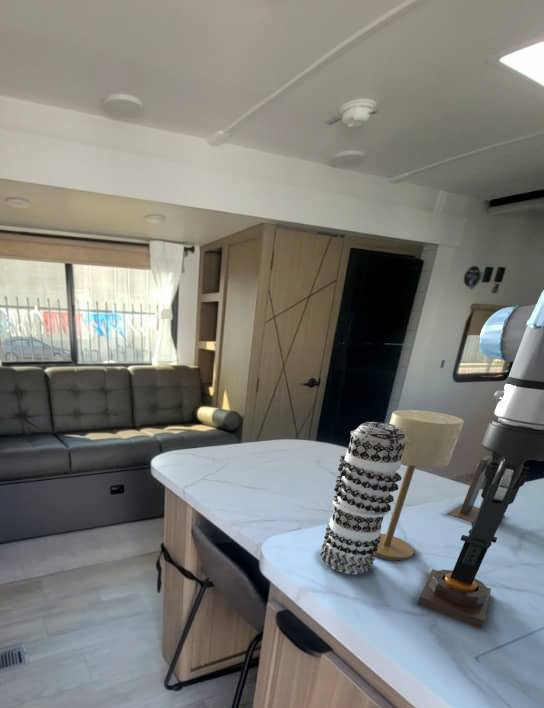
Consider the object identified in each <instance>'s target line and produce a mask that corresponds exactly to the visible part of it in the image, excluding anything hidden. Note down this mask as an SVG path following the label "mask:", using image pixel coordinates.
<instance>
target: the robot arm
mask: <svg viewBox="0 0 544 708" xmlns="http://www.w3.org/2000/svg"><path fill="white" fill-rule="evenodd" d="M479 349H480V352H481V353H482V354H483V355H484V356H485V357H487V358H489V359H494V360H498V361H499V360H500V361H503V362H505V363H512V366H511V368H510V372H509V373H508V375H507V378H506V380H505V384H504V387H503V389H504V390H497V391H495V393H494V395H493V397H494V398H495V399H497V400H498V399H500V400H499V401H498V402H497V404H496V407H495V410H494V412H493V414H494V415H495V416H496V417H497V418H494V419H492V420H490V422H489V424H488V426H487V428H486V431H485V434H484V436H483V439H482V442H481V447H482V448H483V449H484V450H486V451H488V452H490V453H493V454H498V455H501V456H502V458H501V461H499V462H494V461H492V463H491V465H490V468H489V470H488V473H487V475H486V476H485V479H486V481H485V484H484V486H483V487H482V488H483V489H482V491H481V494H480V496H481V498H482V501H481V504H480V506H479V507H478V508H479V511H478V513H477V515H476V518H475V520H474V521H473V522H471V524H470V525H471V529H469V531H468V535H465V534H462V535H461V537H460V539H459V540H460V541H462V542H464V543H463V545H462V547H461V550H460V552H459V555H458V557H457V559H456V562H455V564H454V566H453V569H452V574H451V576H450V578H452V579H455V580H458V581H461V582H464V583H467V584H470V585H472V583H473V581H474V579H476V576H477V575H478V572H479V570H480V567H481V565H482V563H483V561H484V559H485V556H486V554H487V552H488V550H489V549H490V547H491V546H492V544H493V543H494V544H496V543H497V542H498V537H497V536H495V535H496V533H497V531H498V529H499V527H500V525H501V522H502V520H503V518H504V517H503V516H505V513H506V511H507V509H508V508H509V505H511V504H513V503H514V501H515V499H516V497H517V494H518V493H519V490H520V488H521V487H523V486H524V485H525V483H526V481H527V478H528V476H529V473H530V472H529V471H530V468H529V467H525V463H526V461H536V462H544V289H543V290H542V292H541V293H540V296H539V298H538V301H537V303H535V304H532V305H525V304H518V305H516V306H507V307H503V308H501V309H499V310H496V312H494V313H493V314H492V315H491V316H490V317H489V318H488V319H487V320H486V322H485V323H484V325H482V328H481V331H480V334H479Z"/></svg>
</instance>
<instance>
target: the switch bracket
mask: <svg viewBox="0 0 544 708" xmlns="http://www.w3.org/2000/svg"><path fill="white" fill-rule="evenodd" d="M493 459H494V456H492V455H485V456H484V457H482V458H480V459H479V462H477V464H476V468H475V469H476V470H475V472H474V474H473V477H472V480H471V482H470V485H469V488H468V490H467V492H466V496H465V499H464V501H463V503H462V504H461V505H459V506H457V507H455V508H454V509H452V510H451V511H449V512H448V513H446V515H447V516H450V517H454V518H457V519H459V520H463V521H466V522H469V523H472V522H473V521H474V520H475V518H476V515H477V513H478V511H479V508H480V507H477V506H475V503H476V500H477V498H478V496H479V493H480V491H481V488H482V485H483V483H484V481H485V479H486V476H487V475H485V471H486V468H487V465H488V464H489V463H490V462H491V461H492V460H493ZM505 517H506V516H505V515H504V516H503V518H505Z"/></svg>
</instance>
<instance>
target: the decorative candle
mask: <svg viewBox="0 0 544 708" xmlns="http://www.w3.org/2000/svg"><path fill="white" fill-rule="evenodd" d="M349 433H350V439H349V443H348V447H347V449H346V452H345V454H344V455H341V456H340V458H339V462H340V463H338V467H337V471H338V472H339V474H338V475H336V480H335V482H336V483H335V486H334V488H333V492H335V494H334V495H333V499H332V503H333V505H334V507H333V512H332V514H331V516H330V519H329V523H327V525H326V527H325V531H326V532H325V535H324V536H323V538H324V540H323V541H322V544H321V549H320V552H319V555H320V557H321V560H322V562H323V563H324V564H326V565H327V566H328V568H330V569H332V570H334V571H337V572H340V573H343V574H346V575H347V574H348V575H360V574H361V575H362V574H365V573H366V572H367V573H368V572H369V570H371V569H373V568H374V566H373V564H374V562H375V560H376V558H375V557H377V556H376V554H375V553H374V552H376V551H377V550H378V549H377V547H378V543H380V539H381V537H380V536H379V535H380V533H381V532H382V523H383V521H384V517H385V516H387V515H388V514H389V512H390V511H391V510H392V508H391V507H392V506H391V505H390V504H391V503H393V502H394V501H395V497H394V496H393V495H392V494H391V493H393V492H396V491H398V490H399V485H398V484H397V482H400V481H401V480H402V475H400V474H399V473H398V470H400V468H401V466H402V463H401V462H402V458H401V457H402V454H403V451H404V447H405V444H406V442H409V439H408V438H407V437H405V435H404V432H403V430H402V429H401V428H400V427H398V426H395V425H392V424H389V423H386V422H377V421H366V422H363V423H361V424H360V425H359V426H358V427H357V428H356V429H353V430H351V431H350V432H349Z"/></svg>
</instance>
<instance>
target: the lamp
mask: <svg viewBox="0 0 544 708" xmlns="http://www.w3.org/2000/svg"><path fill="white" fill-rule="evenodd" d="M464 423H465V420H464V419H463V418H461V417H458V416H455V415H451V414H447V413H443V412H437V411H430V410H429V411H428V410H419V409H418V410H417V409H398V410H394V411H392V413H391V416H390V420H389V423H388V424H392V425H395V426H398V427H400V428H401V429H402V430H403V432H404V435H405V437H407V438H408V439H409V442H406V444H405V447H404V451H403V454H402V457H401V458H402V462H401V465H402V464H403V465H407V466H406V469H405V473H404V475H403V477H402V482H401V484H400V488H399V491H398V495H397V498H396V501H395V505H394V506H393V507H394V508H393V511H392V514H391V517H390V521H389V524H388V527H387V530H386V533H381V532H380V535H379V536H380V537H381V539H380V543H378V547H377V549H378V550H377V551H376V552H374V553H375V554H376V556H375V557H377V558H379V559H382V560H387V561H393V562H401V560H408V559H410V558H412V557H413V556H414V554H415V550H414V547H413V546H412V545H411V544H410V543H408V542H407V541H405V540H403V539H401V538H399V537H397V536H394V535H395V532H396V529H397V526H398V522H399V520H400V517H401V514H402V510H403V508H404V504H405V501H406V497H407V494H408V491H409V489H410V485H411V482H412V480H413V476H414V473H415V470H416V467H418V468H419V467H420V468H431V469H433V468H434V469H437V468H439V469H440V468H445V467H448V466H449V465H450V463H451V459H452V456H453V454H454V451H455V448H456V445H457V442H458V440H459V437H460V434H461V431H462V428H463V426H464Z"/></svg>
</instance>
